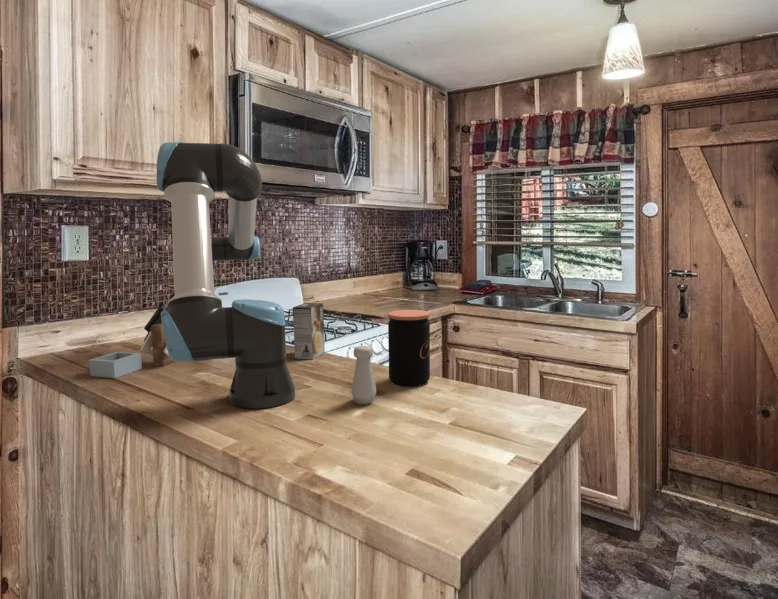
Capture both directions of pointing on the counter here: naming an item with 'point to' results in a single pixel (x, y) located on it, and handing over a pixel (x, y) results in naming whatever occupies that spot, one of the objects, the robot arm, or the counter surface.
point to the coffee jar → (409, 347)
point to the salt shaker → (363, 376)
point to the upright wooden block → (159, 346)
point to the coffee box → (308, 330)
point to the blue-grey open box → (115, 364)
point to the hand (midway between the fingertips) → (155, 353)
